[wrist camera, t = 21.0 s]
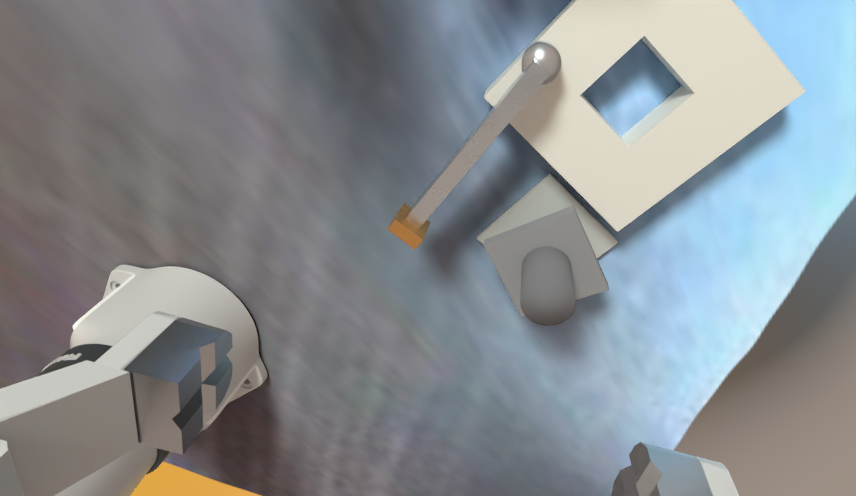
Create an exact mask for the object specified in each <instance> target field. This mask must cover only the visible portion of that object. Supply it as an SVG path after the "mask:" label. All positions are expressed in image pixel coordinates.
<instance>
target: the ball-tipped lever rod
mask: <svg viewBox="0 0 856 496" xmlns="http://www.w3.org/2000/svg"><path fill="white" fill-rule="evenodd" d="M560 69H561V56H560V54H559V52H558V50H557V49H556V47H555V46H554V45H553V44H551V43H549V42H547V41H537V42H535V43H533V44H531V45H530V46H528V47H527V49H526V50H525V51H524V53H523V56H522V72H521V74H520V75H519V76H518V77H517V79H516V80H515V81H514V82H513V84H512V85H511V86H510V87H509V88H508V90H507V91H506V92H505V93H504V95H503V96H502V97H501V98H500V99H499V101H498V102H497V103H496V104H495V106H494V107H493V108H492V109H491V110H490V112H489V113H488V114H487V115H486V117H485V118H484V119H483V120H482V121H481V123H480V124H479V125H478V126H477V128H476V129H475V130H474V131H473V132H472V134H471V135H470V136H469V137H468V139H467V140H466V141H465V142H464V144H463V145H462V146H461V147H460V148H459V150H458V151H457V152H456V153H455V155H454V156H453V157H452V158H451V159H450V161H449V162H448V163H447V164H446V166H445V167H444V168H443V169H442V170H441V172H440V173H439V174H438V175H437V177H436V178H435V179H434V180H433V181H432V183H431V184H430V185H429V186H428V188H427V189H426V190H425V191H424V192H423V194H422V195H421V196H420V197H419V199H418V200H417V201H416V202H415V203H414V205H413V206H412V207H409V206H408V205H407V204H405V203H404V204H403V205H402V207H401V208H400V209H399V210H398V212H397V213H396V215H395V217H394V219H393V220H392V222H391V224H390V226H389V227H388V230H389V231H390V232H392V233H393V234H394V235H396V236H397V237H399V238H400V239H401V240H403V241H404V242H405V243H407V244H408V245H409V246H411V247H412V248H413V249H416V248H417V247H418V245H419V244H420V243H421V242H422V241H423V239H424V237H425V234H426V231H427V229H428V226H429V224H430V222H429V221H428V220H427V219H428V218H429V216H430V215H431V214H432V213H433V212H434V210H435V209H436V208H437V207H438V206H439V205H440V203H441V202H442V201H443V200H444V199H445V198H446V196H447V195H448V194H449V193H450V192H451V190H452V189H453V188H454V187H455V186H456V185H457V183H458V182H459V181H460V180H461V179H462V178H463V176H464V175H465V174H466V173H467V172H468V171H469V169H470V168H471V167H472V166H473V165H474V163H475V162H476V161H477V160H478V159H479V158H480V156H481V155H482V154H483V153H484V152H485V151H486V149H487V148H488V147H489V146H490V145H491V143H492V142H493V141H494V140H495V139H496V138H497V136H498V135H499V134H500V133H501V132H502V131H503V129H504V128H505V127H506V126H507V125H508V123H509V122H510V121H511V120H512V119H513V118H514V116H515V115H516V114H517V113H518V112H519V111H520V109H521V108H522V107H523V106H524V105H525V103H526V102H527V101H528V100H529V99H530V98H531V96H532V95H533V94H534V93H535V92H536V91H537V89H538V88H539V87H540V86H541V85H544V84H547V83H549V82H551V81H553V80H554V79H555V78H556V77H557V75H558V74H559V72H560Z"/></svg>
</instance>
